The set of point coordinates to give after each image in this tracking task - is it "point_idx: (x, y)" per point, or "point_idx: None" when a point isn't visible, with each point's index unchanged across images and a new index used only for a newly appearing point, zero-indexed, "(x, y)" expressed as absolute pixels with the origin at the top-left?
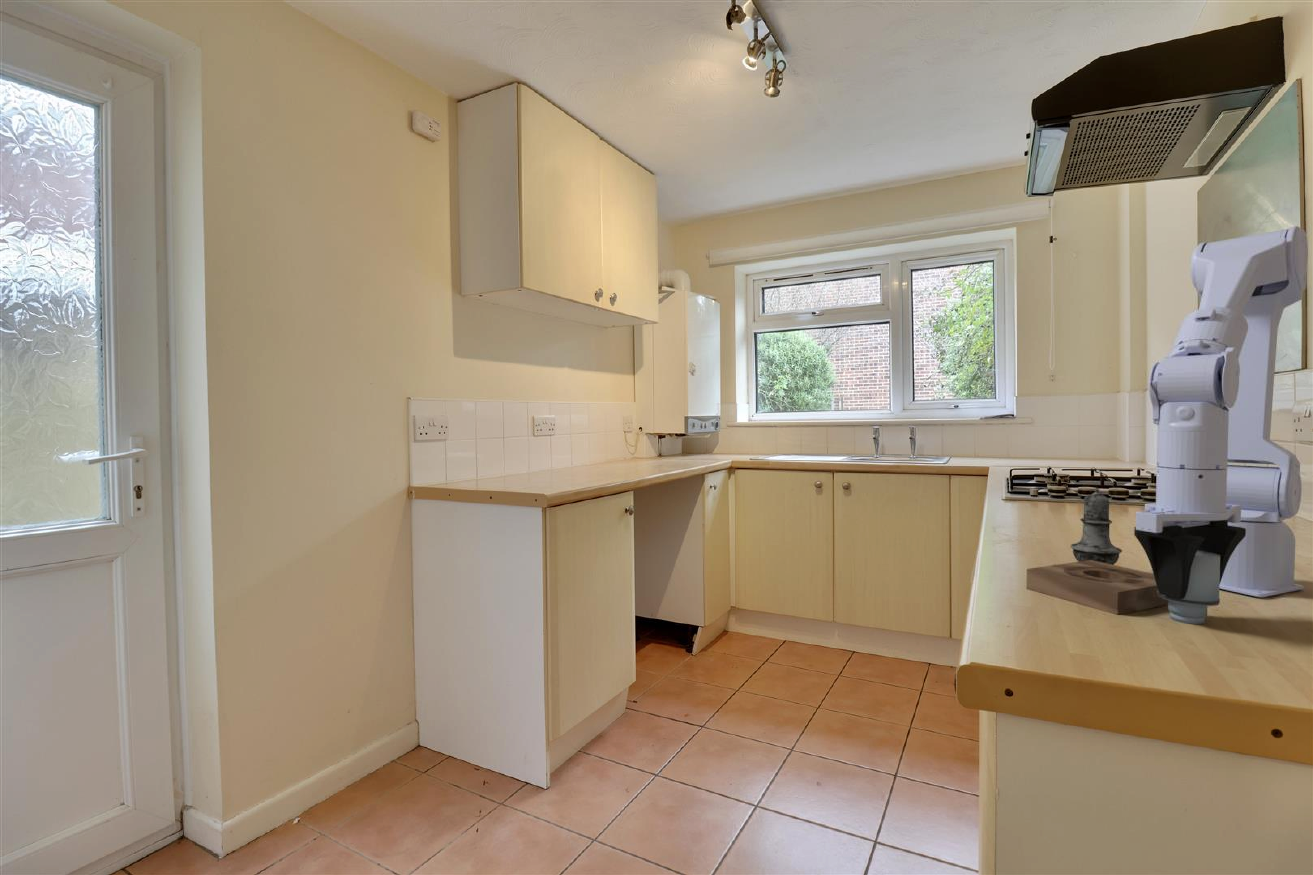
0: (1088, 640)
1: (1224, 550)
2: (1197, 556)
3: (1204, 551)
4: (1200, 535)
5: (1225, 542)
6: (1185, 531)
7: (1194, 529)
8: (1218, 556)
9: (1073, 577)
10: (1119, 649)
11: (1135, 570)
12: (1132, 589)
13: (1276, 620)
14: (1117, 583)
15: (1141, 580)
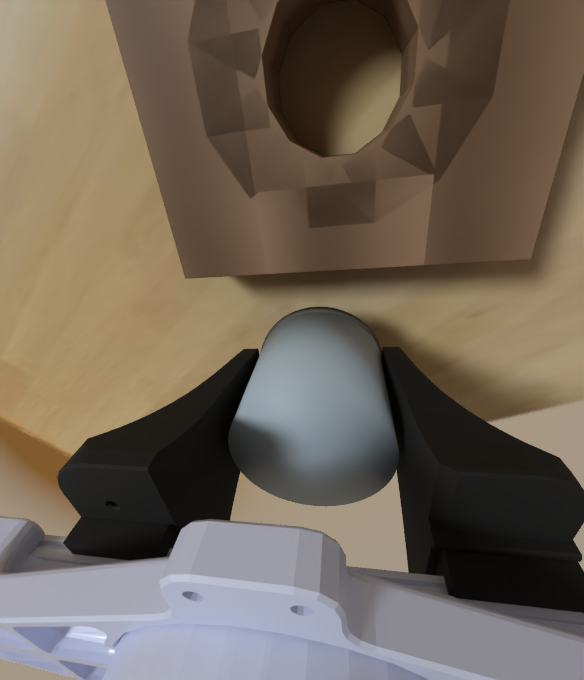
0: (53, 338)
1: (402, 511)
2: (283, 481)
3: (387, 465)
4: (418, 507)
5: (407, 544)
6: (426, 475)
7: (426, 517)
8: (344, 501)
9: (174, 74)
10: (80, 375)
11: (572, 47)
12: (249, 273)
13: (494, 393)
14: (266, 207)
15: (384, 206)
